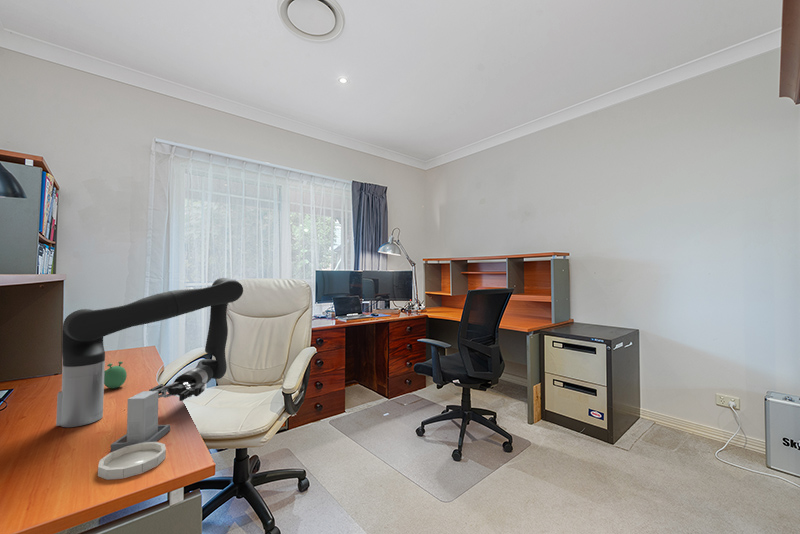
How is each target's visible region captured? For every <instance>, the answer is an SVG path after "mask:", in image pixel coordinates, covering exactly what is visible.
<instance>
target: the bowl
mask: <svg viewBox="0 0 800 534" xmlns="http://www.w3.org/2000/svg"><path fill="white" fill-rule="evenodd" d="M166 449H167V448H166V444H165V443H162V442H159V441H157V442H144V443H138V444H134V445H130V446H126V447H123V448H121V449H118V450H116V451H110V452H109V453H107V454H106V455H105V456H104V457H102V458H101V459H99V461H98V466H97V467H98V468H97V477H99V478H102V479H104V480H120V479H126V478H129V477H130V478H131V477H134V476H137V475H141V474H143V473H146V472H148V471H150V470H151V469H153V468H156V467H157V466H159V465H160V464H161V463H162V462H163V461H165V459H166V455H167V454H166V453H167V452H166Z"/></svg>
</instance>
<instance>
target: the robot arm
mask: <svg viewBox="0 0 800 534" xmlns="http://www.w3.org/2000/svg"><path fill="white" fill-rule="evenodd" d="M243 292H244V287H243V285H242V283H240V282H239V281H238V280H235V279H232V278H227V277H219V278H217V279H216V280H214V282H212V285H210V286H207V287H201V288H186V289H184V288H183V289H177V290H169V291H165V292H160V293H156V294H152V295H149V296H146V297H143V298H141V299H138V300H136V301H133V302H130V303H128V304H125V305H124V304H123V305H119V306H113V307H107V308H100V309H92V308H91V309H90V308H89V309H88V308H84V309H83V308H82V309H77V310H74V311H73V312H70V314H69V315H67V316H66V318H65V319H64V321H63V325H62V330H61V331H62V332H61V333H62V334H61V340H62V341H61V356H62V377H61V378H62V380H61V391H58V393H57V396H56V420H55V421H56V422H55V423H56V424H55V426H56V427H59V426H60V427H62V428H74V427H80V426H81V427H82V426H87V425H89V424H92V423H95V422H97V421H99V420H101V419H102V418H103V416H104V398H105V397H104V394H105V392H104V391H105V385H104V371H105V367H106V366H105V365H106V352H105V348H104V337H106V336H109V335H112V334H114V333H117V332H120V331H123V330H126V329H129V328H132V327H137V326H143V325H148V324H151V323H155V322H161V321H164V320H168V319H172V318H175V317H179V316H183V315H184V314H189V313H192V312H195V311H199V310H202V309H204V308H208V307H210V309H209V311H210V315H209V325H208V332H207V336H206V341H205V345H204V346H205V348H204V351H205V353H206V354H208V355H209V356H210V355H211V356H213V357H214V358H215V359H209V358H204V359H200V360H199V361H198V363H197V365H196V366H195V368H191V369H189V370H187V371H186V372H183V373H182V374H180V375H179V376H177V377H176V378H175V380H174V381H173V382H171V384H166V385H164V384H163V383H160V384H158V385H156V386H154V387H151V388H150V389H149V390H148V391H158V399H159V398H165V399H166V398H170V397H173V396H174V397H175V396H179V397H178V398H179V402H183V401H184V400H186V399H188V398H191V397H192V396H194V397H198V396H200V395H201V394H202V393H203V392H204V391H205V388H206V386H205V385H207V384H208V383H209V382H210V381H211V380H219V379H223V377H224V376H225V375H226V373H227V359H226V346H227V340H228V335H229V334H228V333H229V329H228V327H229V326H228V320H227V319H228V317H227V315H228V314H227V313H228V312H227V311H228V305H229V304H230V303H234V302H236V301H238V300H239V299H240V298H241V297H242V295H243V294H244V293H243Z"/></svg>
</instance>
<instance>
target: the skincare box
mask: <svg viewBox="0 0 800 534" xmlns="http://www.w3.org/2000/svg"><path fill="white" fill-rule="evenodd" d="M126 415H127V417H126V418H127V419H126V434H127V442H142V441H147V440H149V439H150V438H151V437H153V436H154V435H155V434H156V433H158V425H159V398H158V391H149V390H143V391H141V392H138V393H136V394H135V395H133V396H131V397H129V398H127V414H126Z"/></svg>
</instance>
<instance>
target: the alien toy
mask: <svg viewBox="0 0 800 534" xmlns="http://www.w3.org/2000/svg"><path fill="white" fill-rule="evenodd" d="M117 363H118V365H113V363H111V362H110V363H108V364H107V366H106V367H109V368H107V369H106V370H105V369H104V387H106V388H108V389H112V390H113V389H118V388H119V387H121V386H122V385H124V383H125V382H126V380H127V371H126V368H124V367H123V366H122V364H124V362H123V361H120V360H119V361H118V362H117ZM112 365H113V366H112Z"/></svg>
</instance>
